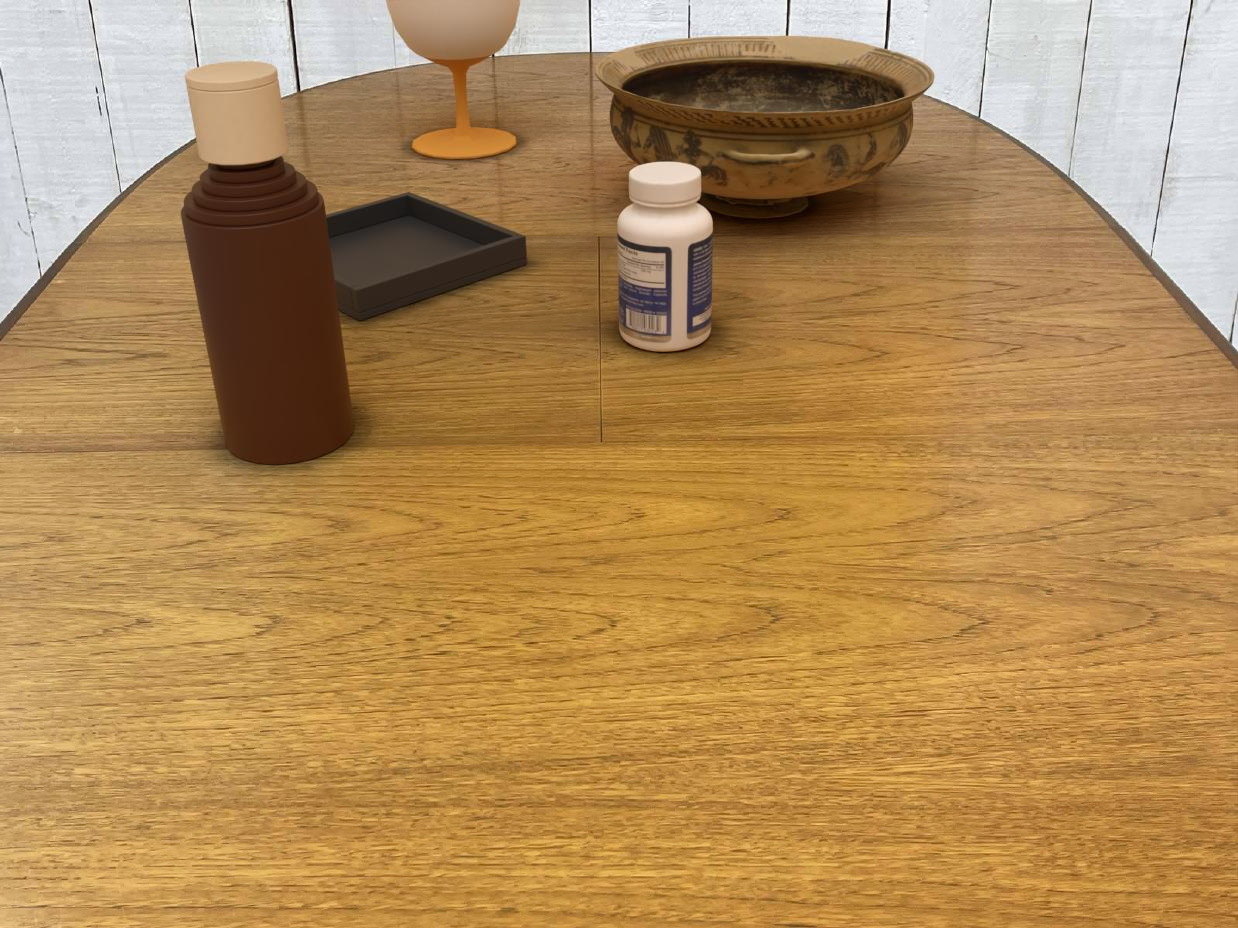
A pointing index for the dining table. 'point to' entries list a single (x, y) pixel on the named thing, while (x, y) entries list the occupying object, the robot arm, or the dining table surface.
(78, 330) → the dining table surface
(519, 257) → the tray
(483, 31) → the cup
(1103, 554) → the dining table surface
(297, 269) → the sauce bottle
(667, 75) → the ceramic bowl
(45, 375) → the dining table surface
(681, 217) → the pill bottle
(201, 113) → the cap
